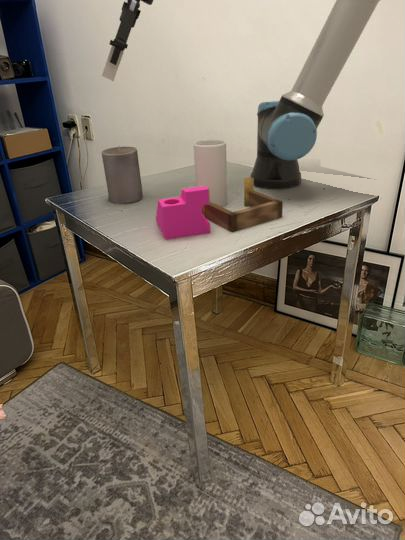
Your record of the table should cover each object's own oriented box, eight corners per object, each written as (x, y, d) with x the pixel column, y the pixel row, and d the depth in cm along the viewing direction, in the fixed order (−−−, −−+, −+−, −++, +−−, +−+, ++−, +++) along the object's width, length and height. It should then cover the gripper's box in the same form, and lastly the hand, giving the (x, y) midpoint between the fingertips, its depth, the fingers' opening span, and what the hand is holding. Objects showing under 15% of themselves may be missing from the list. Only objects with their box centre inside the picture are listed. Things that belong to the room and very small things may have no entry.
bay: (249, 202, 107) (249, 176, 104) (283, 216, 97) (284, 188, 94) (198, 216, 100) (197, 188, 97) (229, 232, 90) (229, 202, 87)
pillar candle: (118, 192, 121) (110, 141, 113) (148, 194, 118) (142, 141, 111) (103, 203, 113) (93, 149, 105) (135, 205, 110) (127, 149, 103)
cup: (224, 208, 104) (223, 145, 97) (193, 208, 106) (190, 145, 98) (229, 198, 111) (228, 139, 104) (200, 198, 113) (197, 139, 105)
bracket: (210, 233, 91) (208, 189, 86) (165, 240, 88) (161, 195, 84) (196, 215, 101) (194, 175, 96) (156, 221, 99) (151, 180, 94)
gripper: (126, -27, 97) (96, 62, 105) (125, -40, 76) (89, 73, 84) (155, -10, 99) (124, 76, 108) (162, -18, 78) (123, 89, 87)
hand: (108, 75), depth 96 cm, fingers open, 13 cm apart
